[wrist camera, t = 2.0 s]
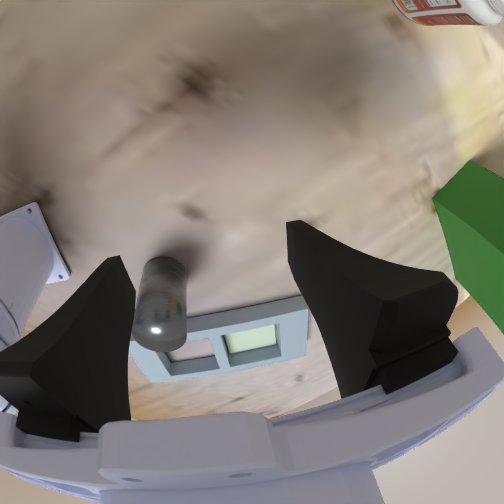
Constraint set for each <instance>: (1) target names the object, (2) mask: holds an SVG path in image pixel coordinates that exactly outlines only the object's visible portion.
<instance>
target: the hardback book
mask: <svg viewBox="0 0 504 504" xmlns="http://www.w3.org/2000/svg"><path fill="white" fill-rule="evenodd" d="M432 200H433V203H434V206H435V208H436V211H437V214H438V217H439V220H440V223H441V226H442V229H443V233H444V236H445V239H446V243H447V246H448V250H449V253H450V257H451V261H452V265H453V269H454V273H455V278H456V280H457V281H458V282H459V283H460V284H461V285H462V286H463V287H464V288H465V289H466V290H467V291H468V293H469V294H470V295H471V296H472V297H473V298H474V299H475V300H476V301H477V303H478V304H479V305H480V306H481V307H482V308H483V310H484V311H485V312H486V313H487V314H488V316H489V317H490V318H491V319H492V320H493V322H494V323H495V324H496V325H497V326H498V328H499V329H500V330H501V332H502V333H503V334H504V179H503V178H502V177H500V176H498V175H497V174H495V173H493V172H491V171H489V170H488V169H486V168H484V167H482V166H480V165H478V164H476V163H474V162H472V161H470V160H469V161H468V162H467V163H466V164H465V165H464V166H463V167H462V168H461V169H460V170H459V172H458V173H457V174H456V175H455V176H454V177H453V178H452V179H451V180H450V181H449V182H448V183H447V184H446V185H445V186H444V187H443V188H442V189H441V190H440V191H439V192H438V193H437V194H436V195H435V196H434V197H433V198H432Z"/></svg>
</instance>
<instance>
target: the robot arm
mask: <svg viewBox="0 0 504 504" xmlns="http://www.w3.org/2000/svg"><path fill="white" fill-rule="evenodd" d="M29 208H30V209H31V211H32V212H31V211H30V210H29ZM286 230H287V249H288V263H289V266H290V269H291V272H292V274H293V277H294V280H295V282H296V284H297V286H298V288H299V290H300V292H301V293H302V295H303V297H304V299H305V301H306V303H307V305H308V307H309V309H310V311H311V313H312V314H313V316H314V318H315V320H316V323H317V325H318V327H319V330H320V332H321V335H322V338H323V341H324V343H325V346H326V349H327V352H328V355H329V358H330V361H331V364H332V367H333V370H334V374H335V377H336V380H337V384H338V387H339V391H340V394H341V398H342V399H340V400H337V401H334V402H331V403H328V404H325V405H322V406H318V407H315V408H311V409H307V410H304V411H300V412H297V413H293V414H288V415H285V416H280V417H276V418H271V419H267V418H266V417H265V416H263V415H261V414H256V413H249V412H243V411H242V412H228V413H216V414H208V415H201V416H192V417H182V418H171V419H157V420H136V421H135V420H134V421H132V420H131V414H130V406H129V395H128V353H129V346H130V339H131V333H132V327H133V320H134V314H135V300H136V291H135V289H134V286H133V284H132V282H131V280H130V278H129V275H128V273H127V271H126V269H125V266H124V264H123V262H122V259H121V257H120V255H119V256H114V257H110V258H107V259H106V260H105V261H104V262H103V263H102V264H101V265H100V266H99V267H98V268H97V269H96V270H95V271H94V272H93V273H92V274H91V275H90V276H89V277H88V279H87V280H86V281H85V282H84V283H83V284H82V285H81V286H80V287H79V288H78V289H77V291H76V292H75V293H74V294H73V295H72V296H71V297H70V298H69V299H68V300H67V301H66V302H65V303H64V304H63V305H62V306H61V307H60V308H59V309H58V310H57V311H56V312H55V313H54V314H53V315H52V316H50V317H49V318H48V319H47V320H46V321H44V322H43V323H42V324H41V325H39V326H38V327H37V328H36V329H35V330H33V331H32V332H30V333H29V334H28V335H26V336H25V337H23V338H22V339H20V336H21V334H22V331H23V329H24V327H25V325H26V322H27V320H28V318H29V316H30V314H31V312H32V309H33V307H34V305H35V303H36V301H37V299H38V297H39V295H40V293H41V291H42V290H43V288H44V286H45V284H50V283H54V282H59V281H64V280H68V279H69V277H70V273H69V271H68V269H67V267H66V265H65V263H64V261H63V259H62V257H61V255H60V253H59V251H58V249H57V247H56V245H55V242H54V240H53V238H52V236H51V234H50V231H49V229H48V227H47V224H46V222H45V220H44V217H43V215H42V212H41V210H40V207H39V205H38V204H37V203H36V202H33V203H30V204H28V205H25V206H23V207H21V208H18V209H16V210H14V211H11V212H9V213H7V214H5V215H2V216H0V468H2V469H4V470H5V471H8V472H9V473H11V474H13V475H15V476H17V477H19V478H21V479H23V480H25V481H28V482H30V483H33V484H36V485H39V486H42V487H45V488H48V489H51V490H55V491H58V492H61V493H65V494H68V495H72V496H76V497H80V498H84V499H88V500H93V501H98V502H101V504H385V503H384V501H383V498H382V496H381V493H380V490H379V487H378V485H377V483H376V480H375V477H374V474H373V472H372V470H373V469H375V468H378V467H380V466H382V465H384V464H386V463H388V462H391V461H393V460H394V459H396V458H398V457H400V456H402V455H404V454H406V453H408V452H409V451H411V450H413V449H415V448H417V447H418V446H420V445H422V444H424V443H425V442H427V441H428V440H430V439H432V438H433V437H435V436H437V435H438V434H440V433H441V432H443V431H444V430H446V429H447V428H448V427H450V426H452V425H453V424H455V423H456V422H458V421H459V420H460V419H462V418H463V417H465V416H466V415H467V414H469V413H470V412H471V411H473V410H474V409H475V408H477V407H478V406H479V405H480V404H481V403H482V402H483V401H484V400H485V399H486V398H487V397H488V396H490V394H492V392H493V391H494V390H495V389H496V388H497V387H498V386H499V385H500V384H501V383H502V382H503V381H504V362H503V361H502V360H501V358H500V357H499V355H498V354H497V352H496V351H495V350H494V348H493V347H492V346H491V344H490V343H489V341H488V340H487V339H486V337H485V336H484V335H483V334H482V332H481V331H480V330H479V328H478V327H475V328H473V329H471V330H470V331H468V332H466V333H464V334H463V335H461V336H459V337H458V338H457V339H456V340H455V341H454V342H453V343H452V342H451V340H450V339H449V337H448V336H450V334H451V332H450V330H449V329H448V328H447V326H446V324H447V323H448V321H449V319H450V317H451V314H452V313H453V310H454V308H455V306H456V303H457V300H458V289H457V287H456V286H455V285H454V284H453V283H452V281H451V280H450V279H449V278H448V277H447V276H446V275H445V274H444V273H443V272H439V271H431V270H424V269H417V268H413V267H408V266H403V265H399V264H395V263H392V262H388V261H385V260H382V259H379V258H376V257H373V256H370V255H368V254H365V253H363V252H360V251H358V250H356V249H353V248H351V247H349V246H347V245H345V244H343V243H341V242H339V241H337V240H335V239H333V238H332V237H330V236H328V235H326V234H324V233H323V232H321V231H319V230H317V229H316V228H314V227H312V226H311V225H309V224H307V223H305V222H303V221H301V220H296V221H291V222H286ZM61 275H62V276H61ZM18 410H19V412H18V417H17V416H15V413H16V412H17V411H18Z"/></svg>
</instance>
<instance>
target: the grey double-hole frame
mask: <svg viewBox="0 0 504 504" xmlns="http://www.w3.org/2000/svg"><path fill="white" fill-rule="evenodd" d="M274 324H276V331H277V343H276V336H275V325H274ZM307 330H308V306H307V304H306V302H305V300H304V298H303V296H302V295H301V296H296V297H292V298H287V299H283V300H278V301H274V302H269V303H265V304H260V305H255V306H250V307H245V308H240V309H235V310H230V311H225V312H220V313H215V314H209V315H204V316H198V317H192V318H187V339H186V341H192V340H198V339H203V338H209V341H210V344H211V346H212V349H213V352H214V354H215V356H211V357H205V358H199V359H193V360H186V361H179V362H172V363H170V361H169V359H168V357H167V356H166V354H165V352H155V351H151V350H148V349H146V348H144V347H142V346H141V345H139V344H138V343H137V342H136V341H135V339H134V338H133V335H132V333H131V339H130V346H129V354H130V355H131V357H132V358H133V360H134V361H135V362H136V364H137V365H138V367H139V368H140V369H141V371H142V372H143V373H144V375H145V376H146V377H147V379H148V380H149V381H150V382H151V383H160V382H169V381H178V380H186V379H193V378H200V377H207V376H213V375H219V374H225V373H230V372H236V371H241V370H246V369H251V368H256V367H261V366H265V365H270V364H274V363H279V362H283V361H287V360H291V359H295V358H299V357H303V356H306V348H307ZM223 335H224V336H225V340H226V343H227V346H228V350H229V353H228V352H227V348H226V345H225V342H224V339H223Z"/></svg>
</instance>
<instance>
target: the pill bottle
mask: <svg viewBox="0 0 504 504" xmlns="http://www.w3.org/2000/svg"><path fill="white" fill-rule="evenodd" d="M393 1H394V3H395V5H396V6H397V7H398V9H399V10H400V11H401V12H402V13H403V14H404V15H405V16H406V17H408V18H409V19H410V20H412V21H414V22H416V23H418V24H421V25H426V26H433V25H489V26H491V25H496V24H498V23H499V22H500V21H501V19H502V17H504V0H393Z"/></svg>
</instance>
